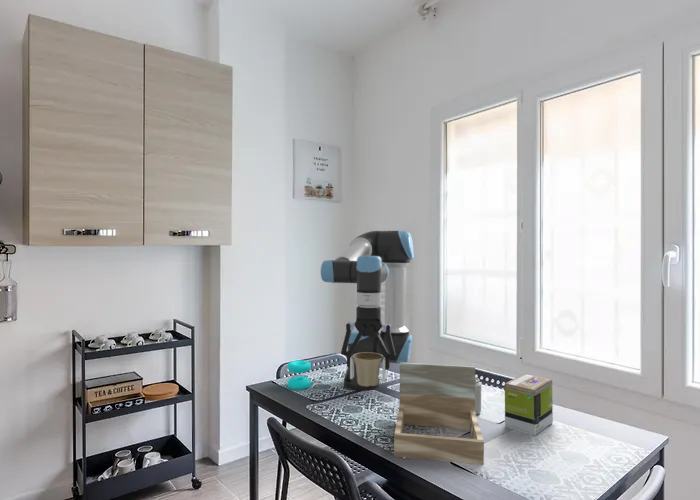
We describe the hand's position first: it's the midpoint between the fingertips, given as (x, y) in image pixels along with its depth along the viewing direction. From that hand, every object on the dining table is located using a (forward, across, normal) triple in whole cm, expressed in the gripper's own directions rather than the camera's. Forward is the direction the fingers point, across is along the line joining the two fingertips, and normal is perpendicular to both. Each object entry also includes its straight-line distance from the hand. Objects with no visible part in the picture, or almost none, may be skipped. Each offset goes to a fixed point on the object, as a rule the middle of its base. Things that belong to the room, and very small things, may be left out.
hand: (367, 378), depth 136 cm
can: (+18, +33, +26) cm, 46 cm away
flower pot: (+2, 0, 0) cm, 2 cm away
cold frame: (+18, +21, 0) cm, 27 cm away
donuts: (+18, -34, +41) cm, 56 cm away
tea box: (+18, +51, +18) cm, 57 cm away
